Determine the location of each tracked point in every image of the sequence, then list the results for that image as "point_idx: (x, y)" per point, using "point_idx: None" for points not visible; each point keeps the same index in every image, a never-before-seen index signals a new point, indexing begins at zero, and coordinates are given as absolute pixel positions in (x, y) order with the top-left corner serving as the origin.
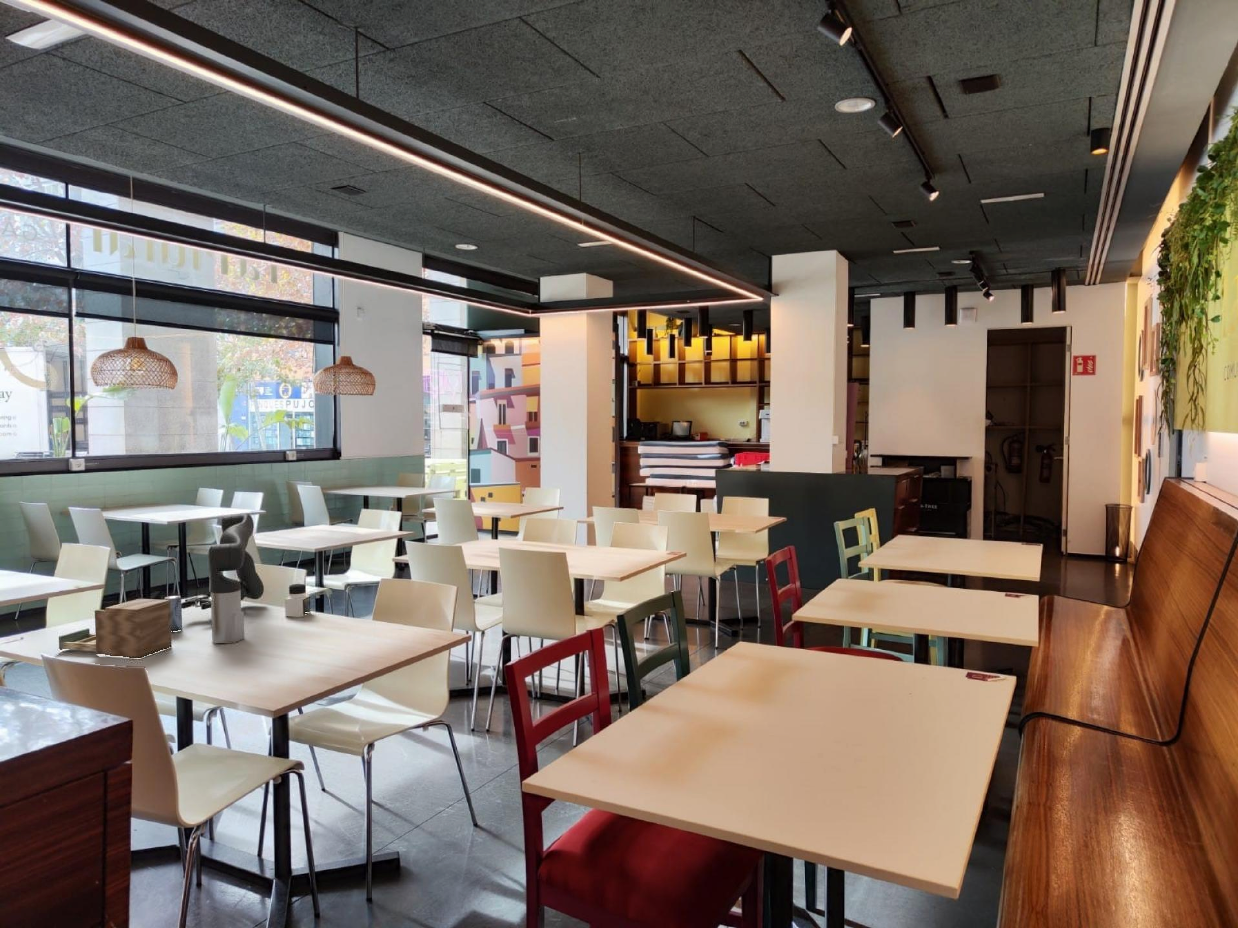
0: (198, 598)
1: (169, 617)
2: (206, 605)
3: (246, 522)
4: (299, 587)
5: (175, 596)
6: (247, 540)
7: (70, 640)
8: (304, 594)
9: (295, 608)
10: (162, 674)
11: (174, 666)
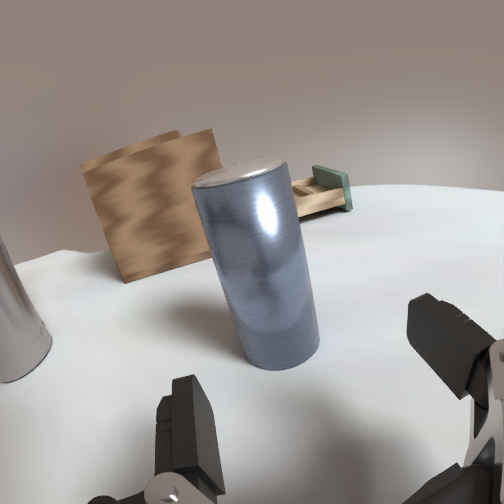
0: (500, 437)
1: (96, 208)
2: (161, 415)
3: None
4: None
5: (242, 172)
6: None
7: (322, 182)
8: None
9: None
10: (72, 253)
11: (69, 264)
